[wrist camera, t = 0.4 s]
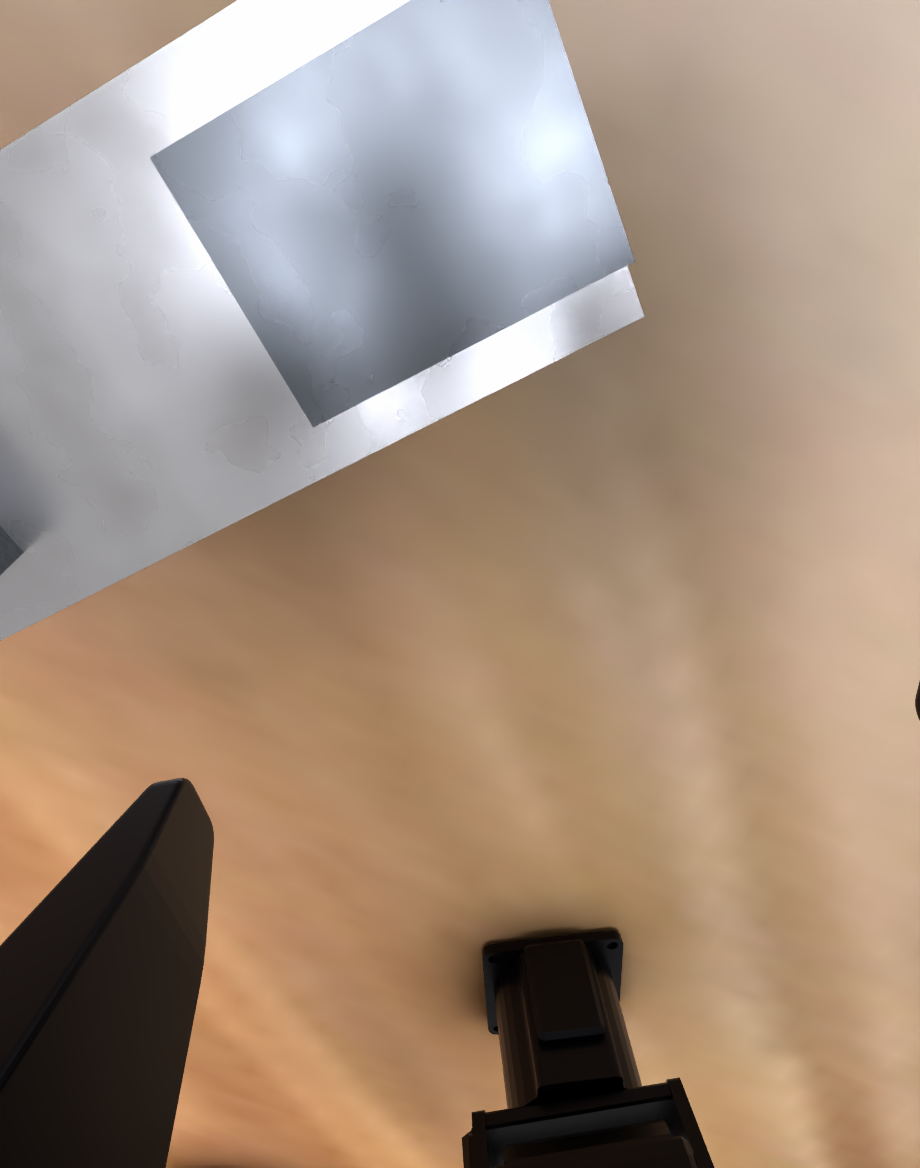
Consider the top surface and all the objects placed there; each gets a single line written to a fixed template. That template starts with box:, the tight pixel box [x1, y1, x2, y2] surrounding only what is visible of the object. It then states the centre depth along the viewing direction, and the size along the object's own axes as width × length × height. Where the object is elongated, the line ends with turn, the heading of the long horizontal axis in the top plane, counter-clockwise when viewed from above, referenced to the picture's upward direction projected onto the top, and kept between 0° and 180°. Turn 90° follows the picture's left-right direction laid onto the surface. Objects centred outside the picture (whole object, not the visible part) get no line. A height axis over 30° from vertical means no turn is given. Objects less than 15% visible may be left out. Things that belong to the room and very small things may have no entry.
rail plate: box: [0, 0, 644, 641], centre depth 18 cm, size 10×27×4 cm, turn 116°
